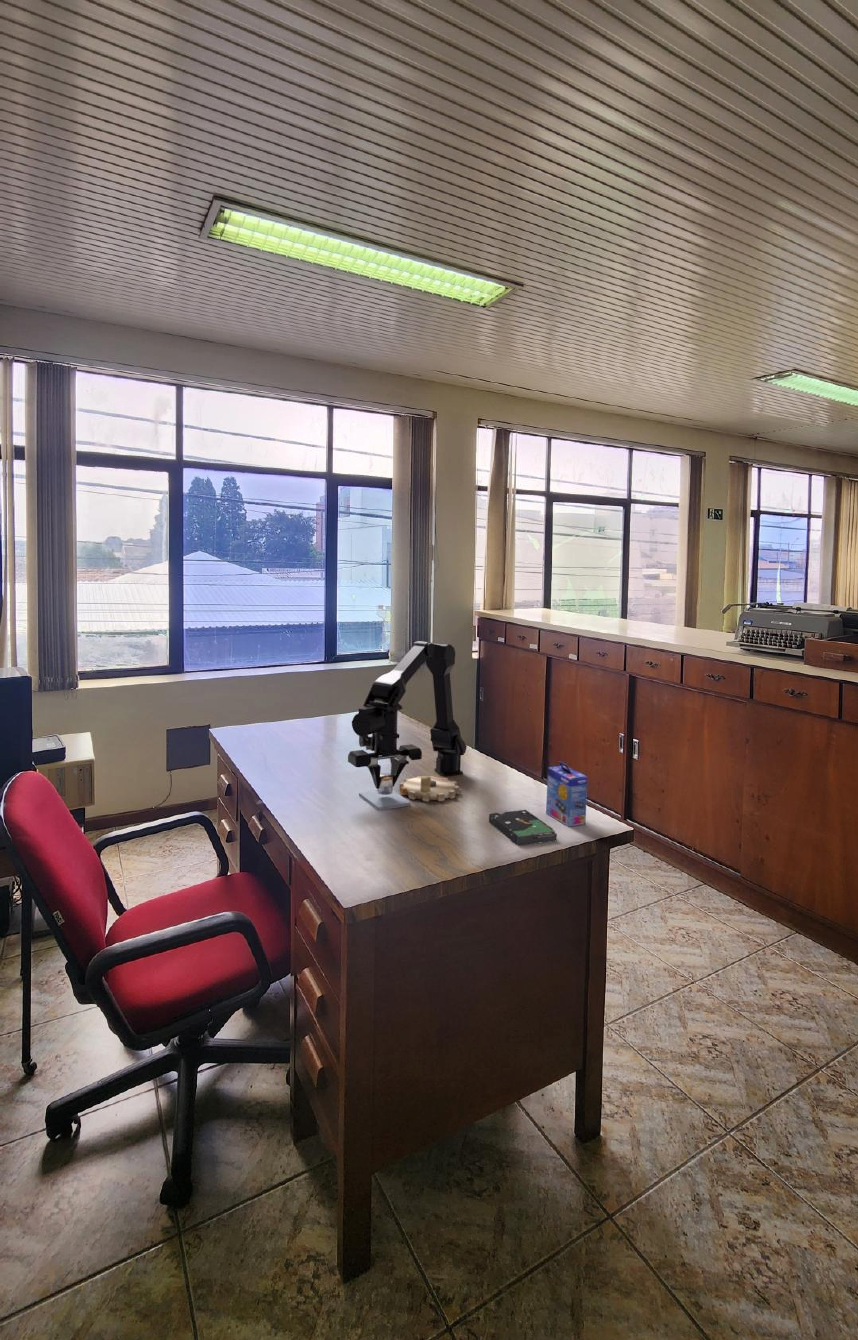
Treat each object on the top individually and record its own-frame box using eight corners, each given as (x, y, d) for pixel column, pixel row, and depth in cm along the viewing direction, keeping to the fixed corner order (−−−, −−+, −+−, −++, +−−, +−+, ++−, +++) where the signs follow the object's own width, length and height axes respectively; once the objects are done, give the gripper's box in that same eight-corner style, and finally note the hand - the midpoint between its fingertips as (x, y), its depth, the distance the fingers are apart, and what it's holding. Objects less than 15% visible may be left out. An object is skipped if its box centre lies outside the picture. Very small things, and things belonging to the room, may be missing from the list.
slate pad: (389, 791, 182) (389, 788, 182) (410, 805, 172) (410, 802, 172) (359, 795, 178) (359, 792, 177) (378, 810, 167) (378, 807, 167)
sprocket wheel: (407, 779, 192) (408, 761, 191) (463, 785, 188) (464, 766, 188) (392, 797, 176) (393, 778, 175) (452, 804, 173) (453, 784, 172)
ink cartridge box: (543, 813, 169) (547, 757, 167) (562, 810, 172) (565, 755, 169) (567, 827, 160) (571, 769, 158) (586, 824, 163) (590, 766, 161)
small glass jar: (388, 788, 177) (388, 772, 176) (395, 793, 174) (395, 776, 173) (374, 790, 175) (374, 774, 174) (381, 795, 172) (381, 778, 171)
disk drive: (487, 824, 162) (517, 848, 149) (488, 813, 162) (518, 836, 148) (525, 819, 166) (557, 842, 153) (525, 808, 166) (558, 830, 152)
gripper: (404, 719, 183) (402, 774, 186) (340, 725, 174) (339, 782, 177) (423, 728, 174) (421, 786, 176) (357, 735, 165) (356, 796, 167)
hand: (384, 787), depth 174 cm, fingers closed on small glass jar, 4 cm apart
